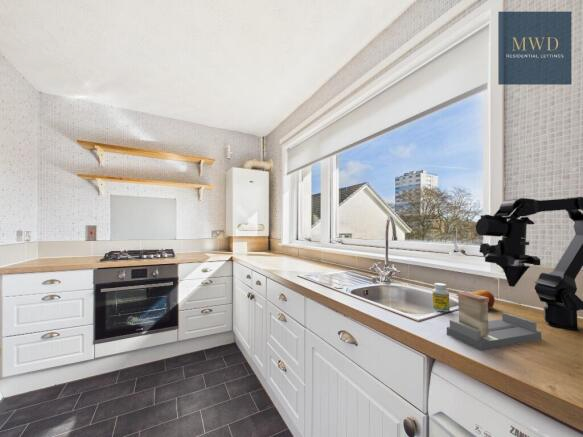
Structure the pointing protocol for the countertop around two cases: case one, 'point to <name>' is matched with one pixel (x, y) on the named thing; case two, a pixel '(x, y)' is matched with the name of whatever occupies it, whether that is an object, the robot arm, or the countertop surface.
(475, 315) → the wooden rectangular block
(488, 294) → the fruit
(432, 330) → the countertop surface
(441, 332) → the countertop surface
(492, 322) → the grooved grey tray
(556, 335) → the countertop surface
